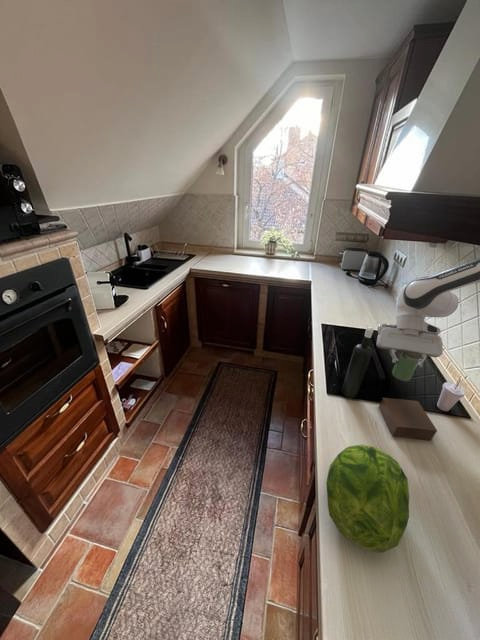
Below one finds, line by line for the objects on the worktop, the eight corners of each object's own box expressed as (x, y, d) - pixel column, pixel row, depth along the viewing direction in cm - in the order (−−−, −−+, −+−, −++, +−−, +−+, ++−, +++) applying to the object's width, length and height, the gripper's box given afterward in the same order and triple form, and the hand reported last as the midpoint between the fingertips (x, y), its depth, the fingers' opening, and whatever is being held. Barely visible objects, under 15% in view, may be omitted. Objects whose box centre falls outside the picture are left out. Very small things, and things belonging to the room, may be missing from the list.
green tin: (406, 370, 94) (416, 348, 89) (414, 382, 89) (425, 359, 84) (388, 368, 95) (397, 347, 90) (395, 380, 90) (406, 358, 84)
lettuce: (424, 467, 66) (372, 410, 68) (441, 564, 46) (367, 479, 49) (365, 486, 75) (321, 435, 78) (358, 572, 56) (300, 501, 58)
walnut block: (412, 410, 92) (417, 400, 89) (430, 440, 82) (437, 430, 79) (378, 407, 93) (382, 397, 90) (392, 436, 82) (397, 426, 80)
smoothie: (432, 408, 93) (448, 380, 86) (432, 398, 97) (448, 370, 90) (453, 417, 90) (472, 388, 83) (453, 405, 94) (471, 377, 87)
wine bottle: (345, 385, 102) (365, 321, 87) (359, 393, 99) (383, 328, 83) (338, 392, 99) (358, 327, 84) (352, 400, 95) (375, 334, 80)
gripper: (381, 320, 91) (378, 358, 88) (445, 329, 87) (445, 370, 83) (375, 324, 97) (372, 360, 94) (435, 333, 93) (434, 371, 89)
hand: (407, 365), depth 89 cm, fingers closed on green tin, 6 cm apart
